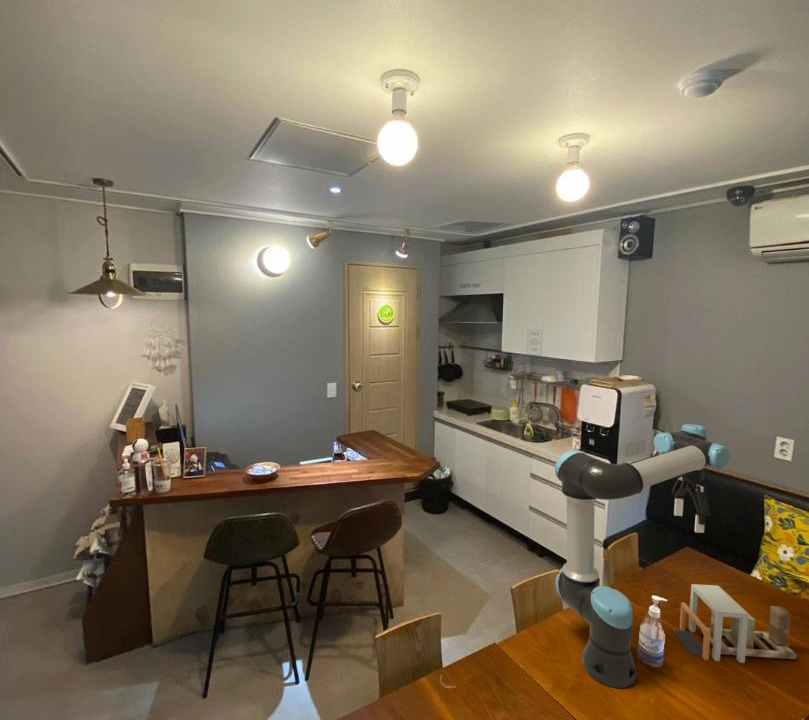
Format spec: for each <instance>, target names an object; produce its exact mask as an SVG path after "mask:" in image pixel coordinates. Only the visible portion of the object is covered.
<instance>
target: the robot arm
mask: <svg viewBox="0 0 809 720" xmlns="http://www.w3.org/2000/svg"><path fill="white" fill-rule="evenodd" d="M680 430H681V431H671V432H661V433H658V434H656V435H655V436H654V438H653V447H654V449H655V451H656V452H658V454H659V455H656V456H653V457H649V458H646V459H643V460H640V461H637V462H633V463H630V462H622V463H618V464H617V463H609V462H605V461H603V460H600V459H598V458H596V457H594V456H591V455H589V454H586V453H585V452H583V451H581V452H580V451H578V450H569V451H566V452H564V453H563V454H561V456H560V457H559V458H558V459H557V461H556V463H555V465H554V473H555V476H556V478H557V479H558V480H559V481H560V482H561V492H562V494H563V495H564V496H565V498H566V562H565V563H564V564H563V565H562V567H561V568H560V570H558V574H556V576H555V580H554V581H555V582H554V585H555V590H556V592H557V595H558V596H559V597H560V598H561V600H562V601H563V602H564V603H565V604H566V605H567V606H569V607H570V608H571V609H572V610H573V611H574V612H575V613H576V614H577V615H578V616H579V617H581V619H583V620H584V621H585V622H586V623H587V624H588V625H589V637H588V640H587V642H586V644H585V645H584V649H583V651H582V657H581V658H582V660H581V662H582V666H583V668H584V670H585V671H586V673H588V675H589V676H590V677H592V678H593V679H594V680H595V681H597V682H598V683H601V684H603V685H605V686H608V687H611V688H616V689H617V688H618V689H624V688H628V687H631V686H633V684H635V682H636V677H637V669H636V664H635V661H634V658H633V655H632V651H631V646H632V634H633V622H634V616H633V606H632V603H631V601H630V600H629V598H628V597H626V595H625V594H624V593H622V592H621V591H619V590H617V589H616V588H614V589H613V588H612V587H609V586H606V585H605V586H604V585H600V572H599V571H598V569H597V568H596V567H595V501H596V500H603V501H611V500H619V499H620V500H621V499H624V498H629V497H633V496H636V495H638V494H640V493H642V492H643V491H644V488H647V487H650V486H653V485H656V484H658V483H659V484H660V483H662V482H665V481H667V480H671V479H673V478H676V480H675V482H674V485H673V487H672V489H671V494H672V495H673V497H674V509H673V515H674V516H675V517H677V516H678V517H683V513H684V496H685V495H686V494H687V492H688V493H689V496H690V497H692V500H693V504H694V506H695V510H696V513H695V520H694V522H695V523H694V532H695V534H696V533H699V534H700V533H702V534H703V533H704V534H705V524H706V517H710V516H711V513H710V508H709V503H708V496H707V493H706V492H707V488H706V486H705V485H704V486H703V485H701V484H700V482H701V481H703V480H704V478H705V470H704V468H706V467H711V468H715V469H724V468H725V467H727V466H728V464H729V462H730V459H731V457H730V455H731V454H730V450H729V449H728V448H727V447H726V446H725V445H722V444H719V443H717V442H713V441H712V442H711V441H708V440H707V439H708V436H707V428H706V427H705V426H703V425H700V424H694V423H685V424H683V425H682V427H681V429H680Z"/></svg>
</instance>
